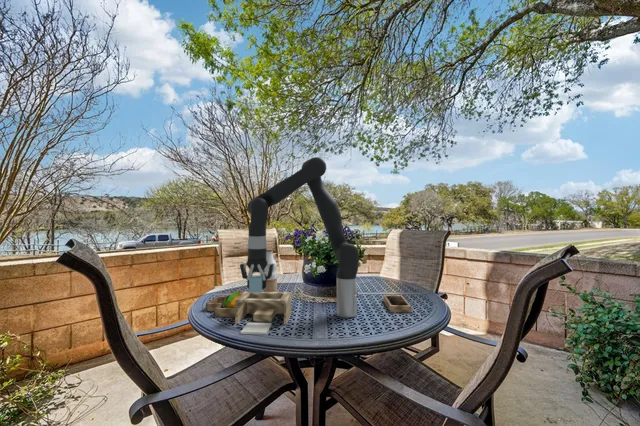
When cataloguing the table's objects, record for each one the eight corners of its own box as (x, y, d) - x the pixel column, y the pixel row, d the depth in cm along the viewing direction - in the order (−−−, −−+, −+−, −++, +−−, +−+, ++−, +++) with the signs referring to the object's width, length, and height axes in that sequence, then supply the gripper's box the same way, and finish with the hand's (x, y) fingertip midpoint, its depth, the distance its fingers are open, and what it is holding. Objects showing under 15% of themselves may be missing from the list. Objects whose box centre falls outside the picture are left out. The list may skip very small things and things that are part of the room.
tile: (271, 325, 121) (271, 323, 121) (265, 334, 111) (265, 332, 111) (248, 324, 121) (248, 322, 121) (240, 334, 111) (240, 332, 111)
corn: (220, 296, 136) (236, 286, 156) (219, 312, 136) (234, 300, 156) (235, 298, 136) (249, 288, 156) (234, 314, 136) (248, 302, 156)
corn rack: (272, 299, 158) (272, 293, 158) (258, 317, 130) (258, 309, 130) (222, 299, 160) (222, 292, 160) (198, 316, 132) (198, 308, 132)
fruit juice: (275, 302, 152) (275, 250, 153) (257, 302, 153) (257, 250, 153) (278, 298, 162) (278, 248, 162) (262, 297, 162) (262, 248, 163)
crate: (291, 313, 135) (291, 292, 136) (286, 324, 121) (286, 300, 122) (245, 312, 137) (245, 291, 137) (235, 323, 123) (235, 299, 123)
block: (264, 289, 119) (264, 275, 119) (261, 292, 114) (261, 277, 114) (252, 289, 119) (252, 275, 119) (249, 292, 114) (249, 277, 114)
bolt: (390, 306, 153) (404, 314, 139) (382, 301, 153) (395, 309, 138) (395, 296, 154) (409, 303, 139) (387, 291, 153) (400, 298, 139)
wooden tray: (402, 301, 156) (402, 295, 156) (411, 312, 137) (411, 306, 137) (383, 300, 156) (383, 295, 156) (390, 312, 137) (390, 305, 137)
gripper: (276, 246, 120) (276, 287, 120) (243, 246, 121) (242, 286, 121) (272, 248, 113) (272, 291, 112) (236, 248, 113) (236, 291, 113)
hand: (256, 288), depth 116 cm, fingers closed on block, 5 cm apart
